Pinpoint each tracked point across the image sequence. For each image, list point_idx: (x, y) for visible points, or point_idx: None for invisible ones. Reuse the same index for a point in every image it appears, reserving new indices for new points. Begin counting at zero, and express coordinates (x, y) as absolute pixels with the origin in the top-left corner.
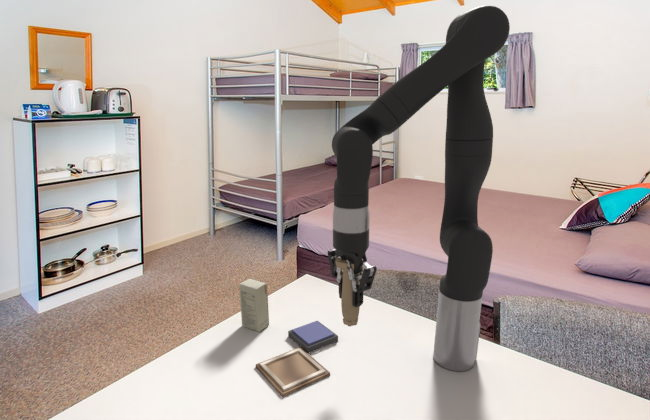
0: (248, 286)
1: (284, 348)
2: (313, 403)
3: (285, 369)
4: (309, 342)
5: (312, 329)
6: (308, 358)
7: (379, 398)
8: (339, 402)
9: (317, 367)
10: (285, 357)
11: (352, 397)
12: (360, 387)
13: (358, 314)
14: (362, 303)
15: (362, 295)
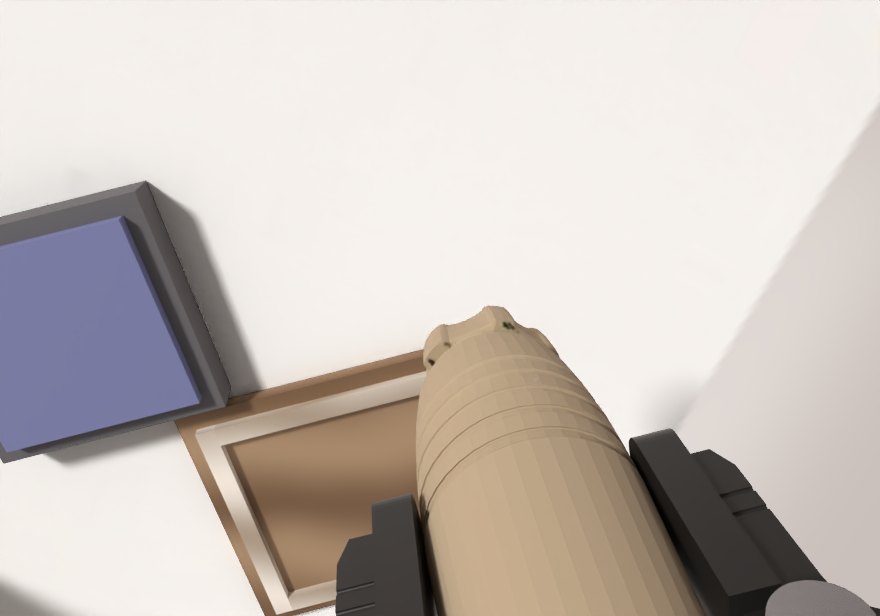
0: None
1: (147, 482)
2: None
3: (350, 522)
4: (187, 396)
5: (28, 337)
6: (311, 418)
7: (717, 186)
8: (643, 364)
9: (402, 398)
10: (253, 506)
11: (645, 302)
12: (604, 238)
13: (562, 362)
14: (716, 457)
15: (788, 546)
